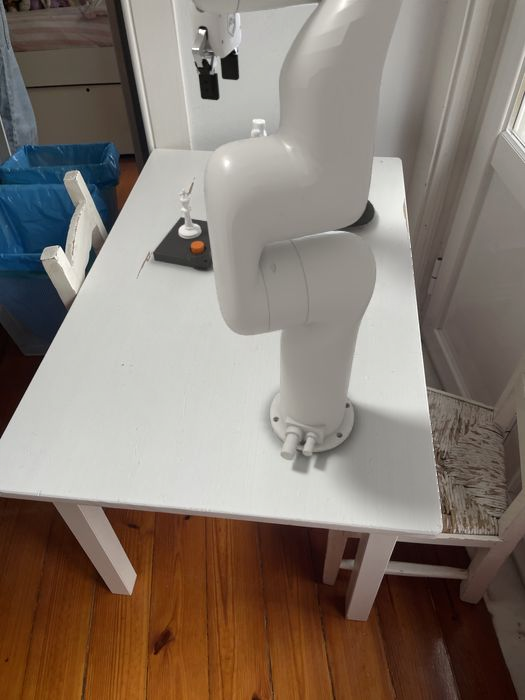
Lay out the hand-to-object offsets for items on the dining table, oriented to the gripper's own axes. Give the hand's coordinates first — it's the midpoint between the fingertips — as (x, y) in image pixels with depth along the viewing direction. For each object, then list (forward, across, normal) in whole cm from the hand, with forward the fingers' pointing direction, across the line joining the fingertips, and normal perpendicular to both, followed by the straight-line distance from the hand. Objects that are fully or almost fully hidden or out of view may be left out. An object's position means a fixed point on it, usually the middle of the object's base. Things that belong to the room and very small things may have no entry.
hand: (220, 88), depth 85 cm
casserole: (+30, +13, -16) cm, 37 cm away
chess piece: (+28, -4, +8) cm, 30 cm away
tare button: (+27, -11, +3) cm, 29 cm away
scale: (+30, -6, +7) cm, 32 cm away
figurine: (+30, +25, +2) cm, 39 cm away
